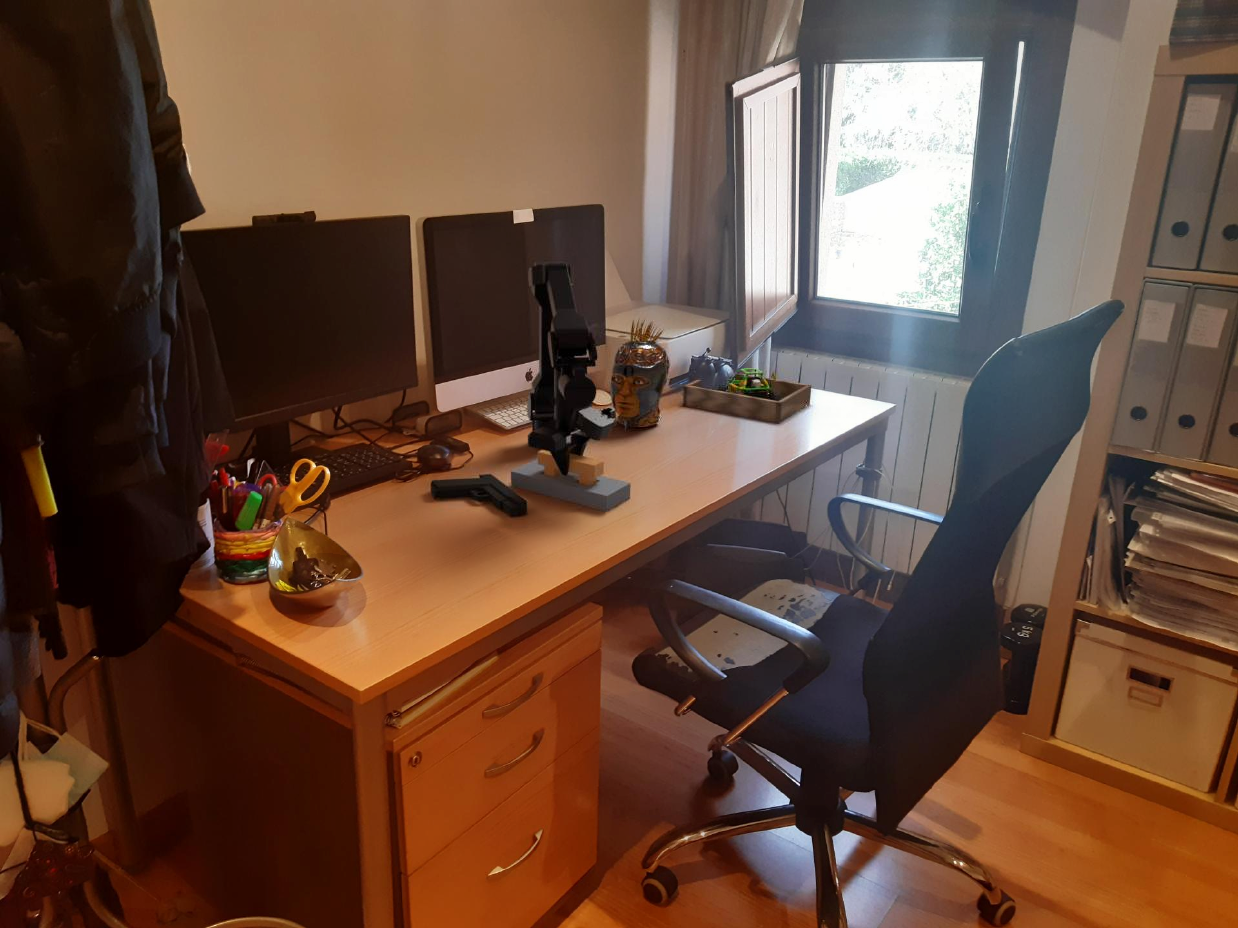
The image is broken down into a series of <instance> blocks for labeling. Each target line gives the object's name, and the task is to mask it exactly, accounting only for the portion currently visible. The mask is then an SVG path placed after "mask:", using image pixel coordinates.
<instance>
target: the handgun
mask: <svg viewBox="0 0 1238 928" xmlns="http://www.w3.org/2000/svg"><path fill="white" fill-rule="evenodd" d="M430 492H431V493H430V494H431V495H432V497H433V499H434V500H453V499H469V498H471V499H472V498H473V499H474V501H476V502H479V503H481V502H489V503H490V504H491V505H493V506H494V507H495V508H496V509H498V510H499V511H503V512H504V513H506V514H507V515H508V516H509V517H515V516H518V517H523V516H527V515H528V501H527V500H526V499H525V498H524V497H523V496H521V495H520V494H518V493H517V492H516V491H514V490H513V489H511V488H510V487H509V486H507V485H506V484H505V483H504V482H502V481H501V480H500V479H498V478H497V477H496V476H494V475H493V474H492V473H483V474H479V475H478V477H471V478H470V477H466V478H452V479H451V478H450V479H449V478H448V479H434V480H431V482H430Z"/></svg>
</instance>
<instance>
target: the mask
mask: <svg viewBox="0 0 1238 928" xmlns="http://www.w3.org/2000/svg"><path fill="white" fill-rule="evenodd" d="M645 321H646V318H644V320H641V322H640V318H638V321H637V323H636V321H635V320H632V323H631V328H630V329H631V331H630V340H629V341H627V342H625V343H621V345H620V347H618V349H617V351H616V354H615V356H614V361H613V367H612V371H611V378H610V382H609V385H610V386H609V389H610V399H611V404H612V408H614V409H615V411H616V413H617V416H616V420H618V421H619V423H620V424H622V425H624V431H625V432H624V433H626V432H627V429H628V428H630V427H631V428H642V427H649V426H653V425H656V424H658V423H659V422H660V421H661V419H662V413H661V406H659V405H660V400H661V397H662V395H663V391H664V388H665V386H666V384H667V382H668V377H669V376H668V375H669V373H670V372H669V371H670V366H671V364H670V358H669V354H668V353H667V351H666V350H665V348H663V347H662V345H659V344H657V343H658V342H659V340H658V339H659V338H660V336H661V335H662V333H664V332H665V330H661V329H659V330H658V331H657V332H656V330H657V328H658V327H659V325H658V326H657V327H656V328H655V326H656V324H657V323H656V324H655V325H654V321H650V322H649V323H646V324H645V327H644V323H645ZM635 323H636V324H635ZM647 324H648V325H647ZM653 325H654V326H653ZM643 327H644V330H643ZM635 328H636V329H635ZM654 328H655V329H654ZM655 332H656V334H655ZM654 334H655V335H654ZM657 340H658V341H657Z"/></svg>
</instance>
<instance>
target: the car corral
mask: <svg viewBox="0 0 1238 928" xmlns="http://www.w3.org/2000/svg"><path fill="white" fill-rule="evenodd" d="M734 373H735V375H736V374H737V373H738V372H734ZM744 376H746V373H741V372H740V373H739V374H738V375H737V376H736V377H744ZM748 377H755V375H748ZM756 377H758V376H757V375H756ZM759 377H760V382H761V384H763V383H762V379H761V376H759ZM763 378H764V379H765V380H766V381H767V383H768V385H769V384H771V390H777V391H778V392H779V393H780V396H781V400H780V401H774V400H768V399H762V398H757V397H751V396H746V395H740V394H734V393H729V392H728V391H726V392H723V391H717V390H712V389H706V388H701V380H698V379H696V380H694V381H692V382H689V383H687V384H684V386H683V396H682V397H683V398H682V400H683V401H682V405H683V406H687V407H692V408H698V409H702V410H703V409H704V410H709V411H714V412H718V413H724V414H729V415H734V416H740V417H746V418H751V419H756V420H760V421H766V422H771V423H776V424H780V423H781V422H783V421H785V420H786V419H788V418H790V417H791V416H793V415H794V413H795V414H796V413H798V412H799V411H801V410H802V408H803V407H804V408H806V407H807V406H806V405H808V406H809V405H810V404H811V396H812V395H811V393H812V385H811V384H806V383H800V382H794V381H787V380H782V379H776V382H775V381H774V379H773V378H771V377H764V376H763ZM737 380H743V378H735V381H737ZM770 380H771V383H770ZM763 385H764V384H763ZM767 393H769V389H767ZM739 404H740V406H739ZM805 406H806V407H805ZM804 408H803V409H804ZM800 409H801V410H800ZM797 411H798V412H797ZM792 414H793V415H792ZM789 416H790V417H789Z"/></svg>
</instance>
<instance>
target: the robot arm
mask: <svg viewBox="0 0 1238 928" xmlns="http://www.w3.org/2000/svg"><path fill="white" fill-rule="evenodd" d="M527 274H528V286H529V287H531V292H532V295H533V297H534V298H535V300H536V302H537V303H538V312H539V314H538V317H539V318H538V320H539V322H538V324H539V325H538V338H539V339H538V340H539V341H538V343H539V344H538V346H539V347H538V349H539V350H538V357H539V358H538V373H537V374H536V376H535V377H534V379H533V381H532V382H531V392H528V396H527V402H526V412H527V413H526V415H527V417H528V420H529V421H530V422H531V425H532V427H531V430H532V431H530V432H529V433H528V435H527V447H530V448H534V449H537V450H540V451H541V450H545V451H550V453H551V455H552V456H553V458H554V460H555V462H556V464H557V466H558V468H559V470H560V472H561V474H562V475H564V476H567V475H568V470H569V460H570V453H571V454H576V455H580V456H584V453H585V450H586V447H587V445H588V444H589V442H590V441H592V440H593V441H596V442H598V441H601V440H602V439H604V438H608V437H609V435H610V433H611V430H612V429H613V427H616V426H617V422H616V420H617V414H616V413H617V412H616V411H615V409H614V407H613V406H607V407H604V408H603V409H600V408H594V407H593V406H592V404H593V402H594V401H595V399H596V396H597V387H596V384H595V383H594V381H593V380H592V379H591V377H590V376H589V374H588V368H590V367H594V368H595V367H596V364H597V362H596V361H598V358H599V357H598V350H597V349H598V348H597V344H596V339H595V336H594V335H593V331H592V330H590V329H589V325H588V323H587V319H586V318H585V317H583V316H582V315H581V314H580V313H578V310H577V306H576V301H575V297H574V292H573V288H572V286H573V285H574V284H575V282H574V277H575V276H574V266H573V265H570V264H569V263H566V262H534V265H532V266H531V267H529V268H528V273H527Z"/></svg>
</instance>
